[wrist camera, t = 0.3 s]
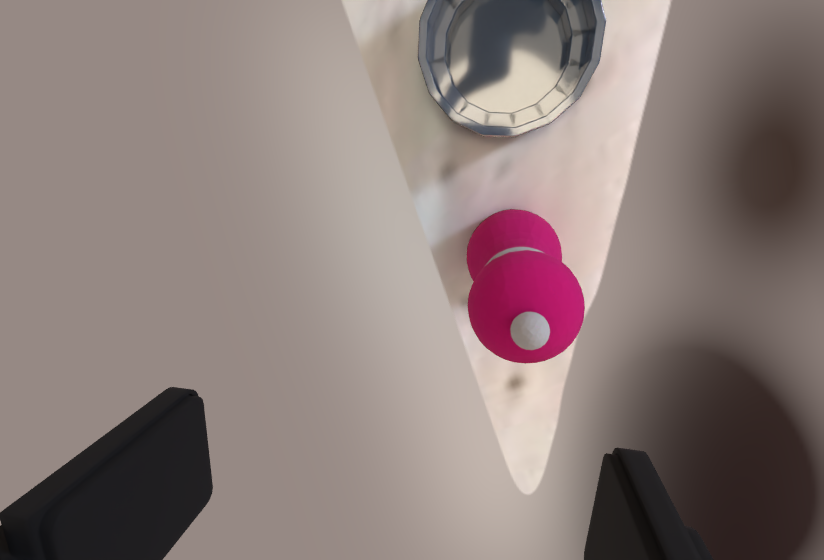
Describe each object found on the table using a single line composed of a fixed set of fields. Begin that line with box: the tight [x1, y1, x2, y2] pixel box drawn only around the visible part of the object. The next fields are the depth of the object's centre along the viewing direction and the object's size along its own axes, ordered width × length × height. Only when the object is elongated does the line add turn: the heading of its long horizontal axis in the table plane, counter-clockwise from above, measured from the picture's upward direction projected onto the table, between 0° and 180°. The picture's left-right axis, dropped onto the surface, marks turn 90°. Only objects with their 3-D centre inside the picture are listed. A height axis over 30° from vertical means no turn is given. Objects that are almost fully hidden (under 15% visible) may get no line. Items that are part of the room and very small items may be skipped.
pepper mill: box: [467, 209, 585, 363], centre depth 29 cm, size 7×7×20 cm
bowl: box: [418, 0, 606, 138], centre depth 32 cm, size 12×12×5 cm
